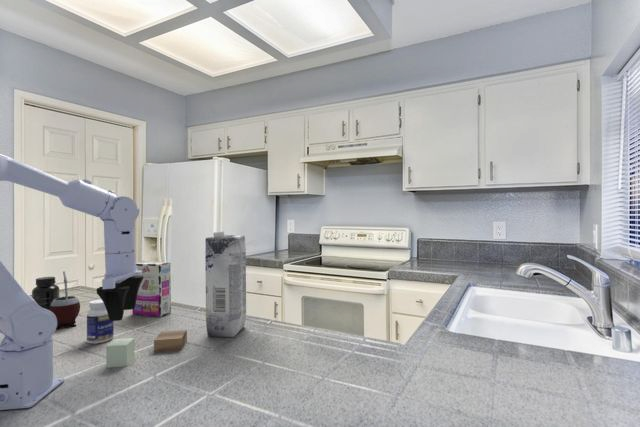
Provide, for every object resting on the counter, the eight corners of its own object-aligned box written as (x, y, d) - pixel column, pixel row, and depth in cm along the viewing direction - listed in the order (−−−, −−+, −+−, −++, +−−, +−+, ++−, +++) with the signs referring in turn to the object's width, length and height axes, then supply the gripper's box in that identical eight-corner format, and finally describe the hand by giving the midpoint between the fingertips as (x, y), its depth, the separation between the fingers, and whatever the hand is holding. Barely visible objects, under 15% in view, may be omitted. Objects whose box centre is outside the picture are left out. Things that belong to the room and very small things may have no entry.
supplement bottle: (36, 314, 110) (36, 276, 110) (62, 311, 113) (62, 275, 113) (28, 320, 104) (28, 280, 104) (56, 317, 106) (56, 278, 107)
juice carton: (248, 325, 96) (248, 230, 96) (236, 339, 86) (235, 232, 86) (218, 325, 97) (217, 230, 97) (202, 338, 87) (201, 232, 87)
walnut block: (181, 351, 80) (181, 338, 80) (154, 353, 79) (153, 340, 79) (187, 341, 85) (186, 329, 85) (161, 343, 84) (161, 331, 84)
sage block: (127, 366, 71) (126, 344, 71) (106, 367, 71) (106, 346, 71) (134, 358, 75) (134, 338, 75) (115, 359, 75) (115, 339, 75)
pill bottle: (100, 345, 83) (100, 304, 83) (81, 343, 84) (80, 303, 84) (119, 336, 89) (118, 298, 89) (100, 335, 90) (100, 297, 90)
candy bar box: (171, 313, 110) (171, 262, 110) (160, 317, 105) (159, 264, 105) (143, 310, 113) (143, 261, 113) (131, 314, 108) (131, 263, 108)
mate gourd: (65, 330, 94) (64, 276, 94) (40, 329, 95) (40, 275, 95) (87, 322, 101) (87, 271, 101) (64, 321, 102) (64, 271, 102)
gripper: (128, 255, 67) (131, 323, 68) (150, 247, 81) (152, 303, 82) (89, 257, 66) (92, 327, 66) (117, 248, 80) (120, 306, 80)
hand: (123, 314), depth 74 cm, fingers open, 7 cm apart
